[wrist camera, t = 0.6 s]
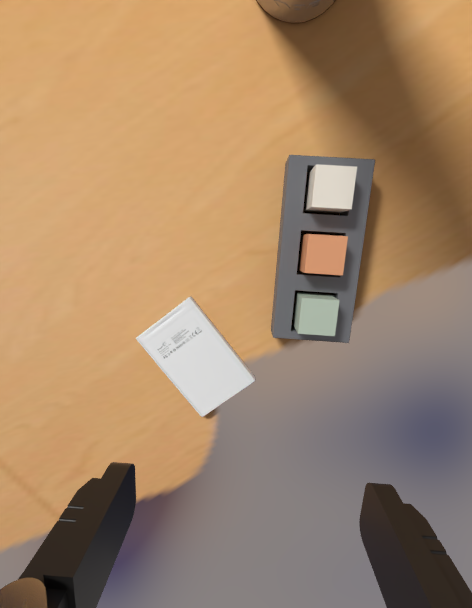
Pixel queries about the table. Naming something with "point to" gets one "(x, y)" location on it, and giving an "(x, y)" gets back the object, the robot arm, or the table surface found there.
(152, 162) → the table surface
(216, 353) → the external hard drive
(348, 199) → the cream button
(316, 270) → the terracotta button
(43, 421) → the table surface
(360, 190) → the keypad
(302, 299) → the sage button
